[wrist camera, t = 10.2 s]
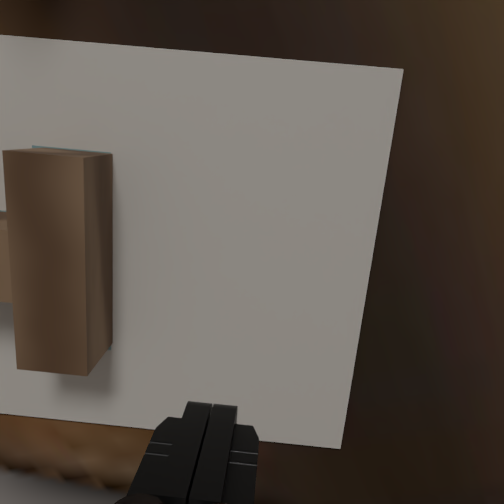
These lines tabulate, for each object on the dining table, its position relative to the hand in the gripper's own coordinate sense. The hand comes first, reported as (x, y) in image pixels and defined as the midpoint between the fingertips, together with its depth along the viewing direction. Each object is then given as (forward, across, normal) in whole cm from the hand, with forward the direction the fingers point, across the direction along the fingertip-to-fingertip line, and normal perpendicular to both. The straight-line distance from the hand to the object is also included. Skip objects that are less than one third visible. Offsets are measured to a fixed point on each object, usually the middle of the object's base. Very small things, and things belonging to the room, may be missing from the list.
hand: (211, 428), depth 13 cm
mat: (+14, +9, -1) cm, 17 cm away
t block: (+14, +14, -1) cm, 20 cm away
